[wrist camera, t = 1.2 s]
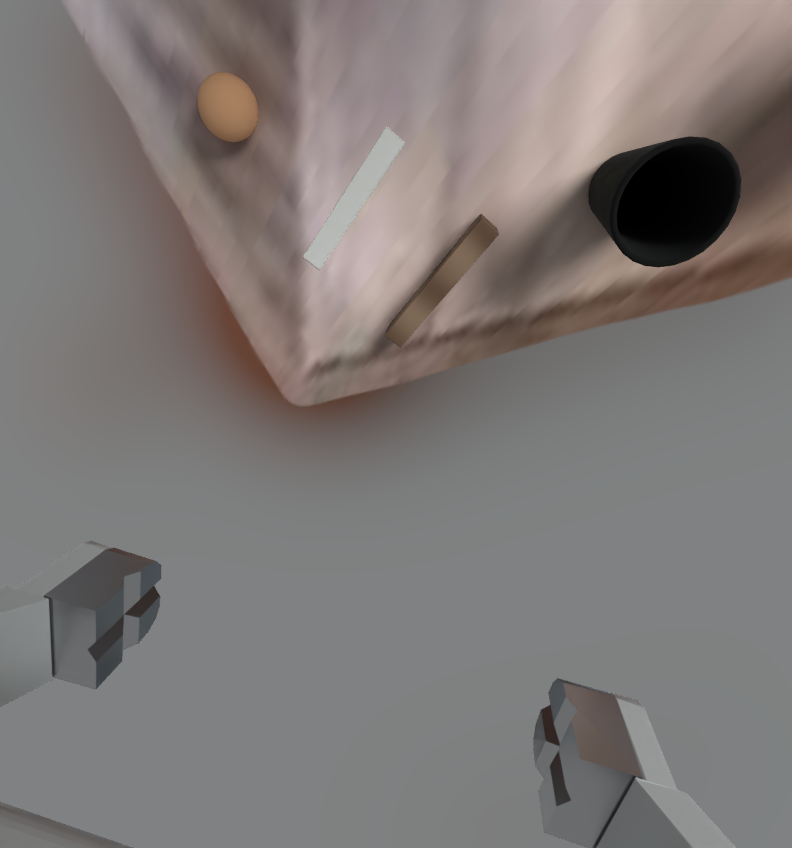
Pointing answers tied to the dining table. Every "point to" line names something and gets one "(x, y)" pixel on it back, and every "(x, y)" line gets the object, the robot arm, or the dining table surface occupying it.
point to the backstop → (442, 280)
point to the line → (354, 197)
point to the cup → (666, 199)
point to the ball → (228, 107)
